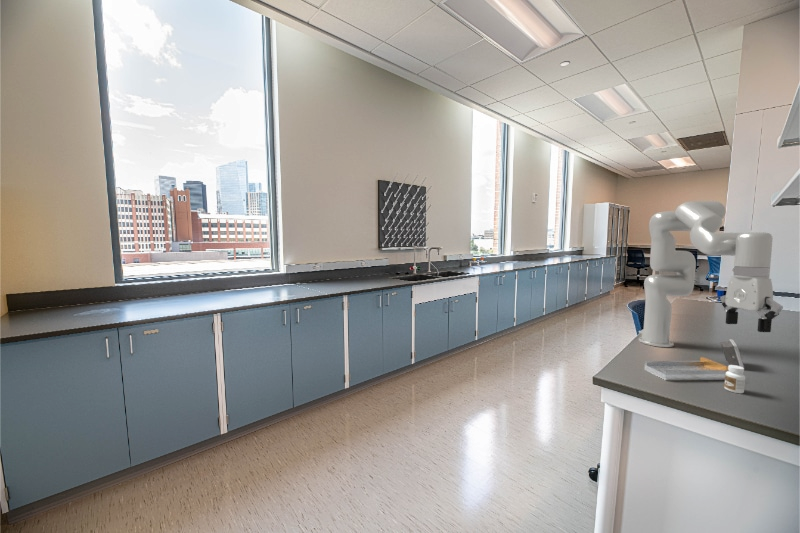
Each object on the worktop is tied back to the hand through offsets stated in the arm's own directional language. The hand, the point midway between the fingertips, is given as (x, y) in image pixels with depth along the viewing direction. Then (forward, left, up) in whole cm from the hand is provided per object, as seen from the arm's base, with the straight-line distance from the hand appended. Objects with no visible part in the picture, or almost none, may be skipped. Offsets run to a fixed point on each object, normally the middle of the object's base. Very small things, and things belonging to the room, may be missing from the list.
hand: (746, 327), depth 101 cm
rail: (-12, -7, -20) cm, 25 cm away
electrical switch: (-20, +19, -21) cm, 35 cm away
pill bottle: (0, -2, -21) cm, 21 cm away
